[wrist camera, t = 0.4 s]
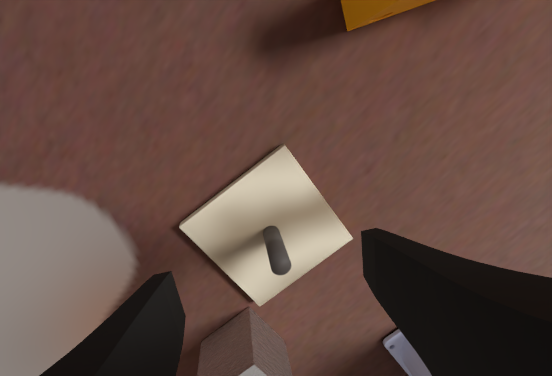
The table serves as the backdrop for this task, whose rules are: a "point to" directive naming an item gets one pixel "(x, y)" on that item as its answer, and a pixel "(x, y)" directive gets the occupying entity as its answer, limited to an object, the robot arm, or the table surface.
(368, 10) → the pipe clamp
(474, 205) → the table surface
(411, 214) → the table surface
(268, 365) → the grey hollow cube
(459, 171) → the table surface
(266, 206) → the cream tile with peg
